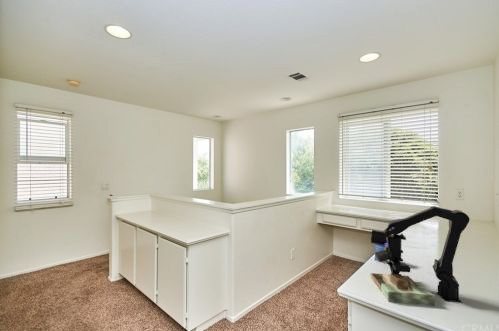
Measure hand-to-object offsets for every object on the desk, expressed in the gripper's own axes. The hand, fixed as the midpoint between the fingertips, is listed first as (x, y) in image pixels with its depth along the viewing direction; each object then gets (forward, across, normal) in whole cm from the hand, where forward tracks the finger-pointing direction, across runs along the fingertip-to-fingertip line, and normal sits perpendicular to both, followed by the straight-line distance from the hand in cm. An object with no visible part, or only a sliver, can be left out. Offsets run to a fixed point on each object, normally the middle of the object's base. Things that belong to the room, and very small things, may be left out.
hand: (394, 278), depth 115 cm
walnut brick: (+1, +5, 0) cm, 5 cm away
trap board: (+3, +5, 0) cm, 6 cm away
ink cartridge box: (+4, -30, +7) cm, 31 cm away
